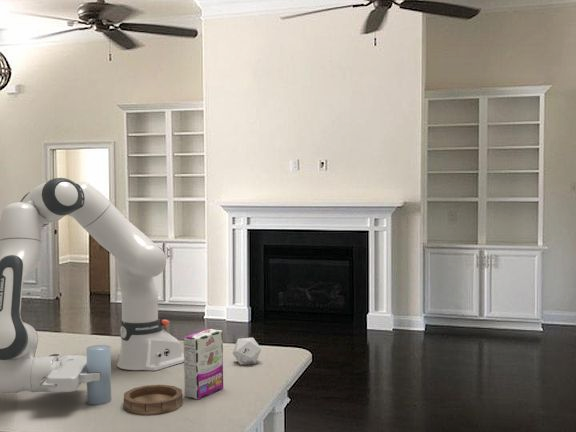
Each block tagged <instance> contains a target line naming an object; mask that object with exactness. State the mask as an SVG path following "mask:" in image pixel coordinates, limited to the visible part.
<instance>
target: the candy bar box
mask: <svg viewBox="0 0 576 432" xmlns="http://www.w3.org/2000/svg"><path fill="white" fill-rule="evenodd" d="M223 349H224V347H223V330H221V329H216V328H215V329H214V328H207V329H205V330H201V331H199V332H196V333H192V334H189V335H186V336H183V353H184V362H183V363H184V366H183V367H184V368H183V370H184V371H183V373H184V396H185V397H186V398H188V399H194V400H201V399H202V398H205V397H208V396H210V395H212V394H213V393H216V392H219V391H221V390H222V389H224V361H223V358H224V357H223V356H224V355H223V354H224V352H223V351H224V350H223Z"/></svg>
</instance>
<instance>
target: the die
mask: <svg viewBox="0 0 576 432" xmlns="http://www.w3.org/2000/svg"><path fill="white" fill-rule="evenodd" d="M261 351H262V347H260V345H259V343H258V342H257V341H256V340H255V338H254V337H246V338H245V337H244V338H237V340H236V342H235V346H234V348H233V351H232V355H233V356H234V358H235V360H237V362H238V364H239V365H240V366H243V365H244V364H245V365H253V364H257V361H258V359H259V356H260V353H261Z"/></svg>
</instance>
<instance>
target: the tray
mask: <svg viewBox="0 0 576 432" xmlns="http://www.w3.org/2000/svg"><path fill="white" fill-rule="evenodd" d="M183 404H184V403H183V390H182V388H179V387H176V386H175V385H169V384H168V385H167V384H150V385H149V384H148V385H146V384H145V385H141V386H138V387H133V388H131V389H129V390H128V391H126V392H124V394H123V409H124V410H125V411H126V412H127V413H131V414H134V415H140V416H141V415H143V416H145V415H146V416H150V415H161V414H166V413H170V412H173V411H175V410H178V409H179V408H181V406H183Z"/></svg>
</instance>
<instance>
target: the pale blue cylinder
mask: <svg viewBox="0 0 576 432" xmlns="http://www.w3.org/2000/svg"><path fill="white" fill-rule="evenodd" d="M111 347H112V346H110V345H108V344H96V345H90V346H87V347H86V356H87V374H90V373H93V372H100V379H99V380H98V381H91V382H87V383H86V403H87V404H90V405H95V406H96V405H97V406H98V405H104V404H107V403H110V402H111V401H112V364H111V363H112V360H111V359H112V357H111V354H112V353H111V352H112V350H111V349H112V348H111Z"/></svg>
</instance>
